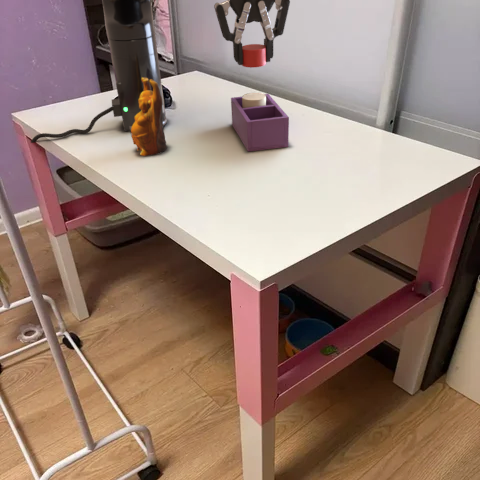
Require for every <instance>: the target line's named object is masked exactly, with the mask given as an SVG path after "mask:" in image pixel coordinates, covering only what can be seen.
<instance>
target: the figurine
mask: <svg viewBox="0 0 480 480" xmlns="http://www.w3.org/2000/svg"><path fill="white" fill-rule="evenodd" d="M141 79H142V82H143V83H144V91H143V92H142V93H141V94H140V98H139V108H140V109H141V111H140V112H139V113H138V114H137V115H136V116H135V122H134V124H133V125H132V128H131V131H130V133H131V139H132V142H133V145H136V147H137V149H136V151H137V152H140V153H139V155H140V156H143V157H147V156H155V155H159V154H161V153H164V152H165V151H167V148H168V146H167V140H166V135H165V128H164V126H163V108H162V96H161V94H160V89H159V86H158V83H157V82H155V81H154V80H152V79H150V81H149V79H148V78H141ZM149 82H150V83H149ZM150 84H151V85H152V87H153V91H152V90H151V86H150Z"/></svg>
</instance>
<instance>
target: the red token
mask: <svg viewBox="0 0 480 480" xmlns="http://www.w3.org/2000/svg"><path fill="white" fill-rule="evenodd" d="M242 51H243V65H241V66H242V67H244V68H260V67H264V66H266V65H267V62H266V46H265V45H264V44H261V43H251V44H245V45H242Z"/></svg>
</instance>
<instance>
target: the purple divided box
mask: <svg viewBox="0 0 480 480" xmlns="http://www.w3.org/2000/svg"><path fill="white" fill-rule="evenodd" d="M264 94H265V95H266V106H257V107H248V108H242V96H236V97H235V96H234V97H230V107H231V126H232V127H233V129H234V131H235V132H236V135H238V137H239V139H240V140H241V142H242V144H243V146H244V148H245V149H246V151H247V152H248V153H249V152H255V151H256V152H257V151H264V150H272V149H282V148H288V147H289V133H290V132H289V131H290V129H289V128H290V116H288V115H287V113H286V112H285V111H284V110H283V109H282V107H280V105H279V103H277V102H276V101H275V100H274V99H273V97H272V96H271V95H270V94H269V93H264Z"/></svg>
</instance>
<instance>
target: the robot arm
mask: <svg viewBox="0 0 480 480" xmlns="http://www.w3.org/2000/svg"><path fill="white" fill-rule="evenodd" d="M101 2H102V8H103V16H104V25H105V30H106V37H107V41H108V47H109V51H110V52H109V53H110V58H111V62H112V68H113V73H114V78H115V87H116V92H117V98H114V99H111V106H110V107H108V108H107V109H105V110H103V111H101V112H99V113H98V114H97V115H95V116H94V117H93V118H92V120H91V121H90V123H89V125H88V127H86V128H85V129H80V128H79V129H78V128H73V129H69V130H66V131H64V132H62V133H47V132H45V133H38V134H36V135H34V137H33V138H32V139H31V141H30V144H34V143H36V142H37V141H38V140H39V139H43V138H52V139H60V138H64V137H68V136H70V135H72V134H84V135H85V134H88V133H89V132H90V131H92V129H93V128H94V126H95V124H96V122H97V121H98V120H100V119H102V117H104V116H105V115H108V114H109V113H111V112H112V114H113V117H114V118H117V117H121V119H122V125H123V129H124V131H125V132H128V131H129V132H131V128H132V125H133V124H134V122H135V116H136V115H137V114H138V113H139V112H140V111H141V109H140V108H139V98H140V94H141V93H142V92H143V91H144V83H143V82H142V79H141V78H148V79H149V81H150V79H152V80H154V81H155V82H157V83H158V86H159V89H160V94H161V96H162V108H163V127H164V126H166V125H167V124H168V119H167V115H166V108H165V99H164V93H163V84H162V77H161V71H160V70H161V69H160V62H159V54H158V46H157V40H156V31H155V24H154V23H155V21H154V14H153V7H152V0H101ZM290 4H291V1H290V0H224V1H222V2H216V3H214V6H213V8H214V12H215V15H216V17H217V22H218V25H219V28H220V32H221V35H222V37H223V39H224V40H225V41H227V42H232V48H233V49H232V50H233V60H234V61H235V62H236V63H237V65H238V66H242V65H243V51H242V46H243V43H242V37H243V34H244V31H245V29H246V26H247V24H250V23H253V22H256V23H259V24H260V26H261V29H262V33H263V35H264V38H263V45H265V46H266V63H271V59H273V58H274V40H275V38H277V37H279V36H283V34H284V30H285V26H286V22H287V17H288V14H289V9H290ZM274 5H275V9H276V10H277V11H276V16H275V21H274V25H273V27H272V23H271V20H270V17H269V13H270V12H271V9H272V8H273V6H274ZM229 8H231V10H232V11H233V12H234V14H235V15H236V16H235V21H234V27H233V31H232V32H231V30H230V27H229V24H228V23H229V22H228V20H227V16H228V15H229ZM149 83H150V82H149ZM150 86H151V90H152V91H153V87H152V85H151V84H150Z"/></svg>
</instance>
